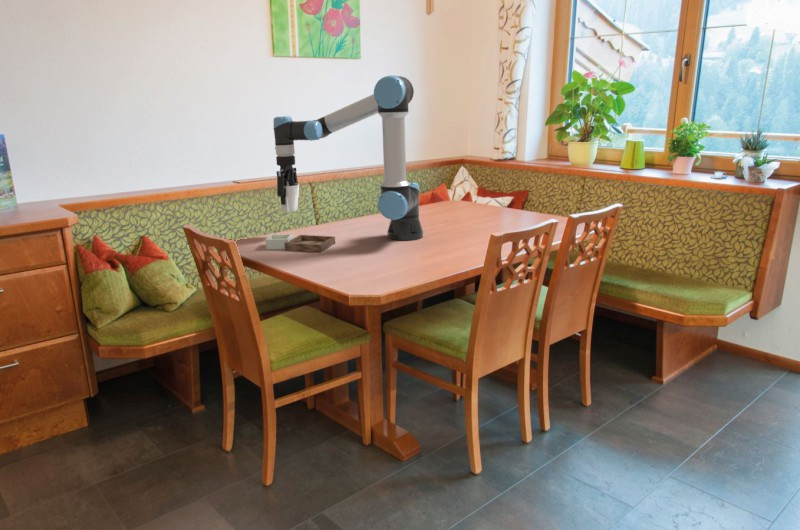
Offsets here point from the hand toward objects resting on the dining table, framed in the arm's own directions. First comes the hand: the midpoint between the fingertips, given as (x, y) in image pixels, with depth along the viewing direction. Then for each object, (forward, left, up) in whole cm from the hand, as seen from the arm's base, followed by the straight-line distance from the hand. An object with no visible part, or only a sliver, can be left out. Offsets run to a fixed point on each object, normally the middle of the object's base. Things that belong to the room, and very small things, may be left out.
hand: (289, 210), depth 253 cm
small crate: (-2, +16, -12) cm, 20 cm away
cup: (0, 0, -1) cm, 1 cm away
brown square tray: (-14, +13, -12) cm, 23 cm away
